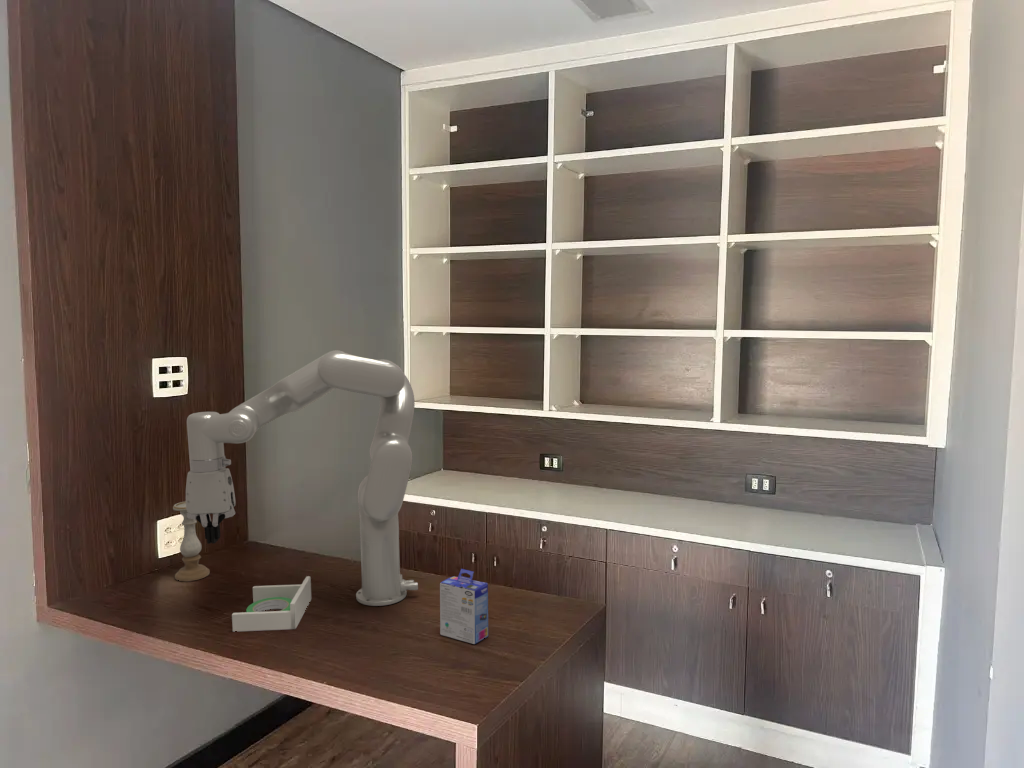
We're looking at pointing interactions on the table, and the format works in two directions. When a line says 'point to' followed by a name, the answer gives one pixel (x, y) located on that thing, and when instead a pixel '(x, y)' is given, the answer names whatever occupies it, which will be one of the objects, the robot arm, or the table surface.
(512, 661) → the table surface
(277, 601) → the tape roll
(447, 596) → the ink cartridge box
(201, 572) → the candle holder
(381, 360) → the robot arm
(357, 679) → the table surface
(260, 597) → the box
